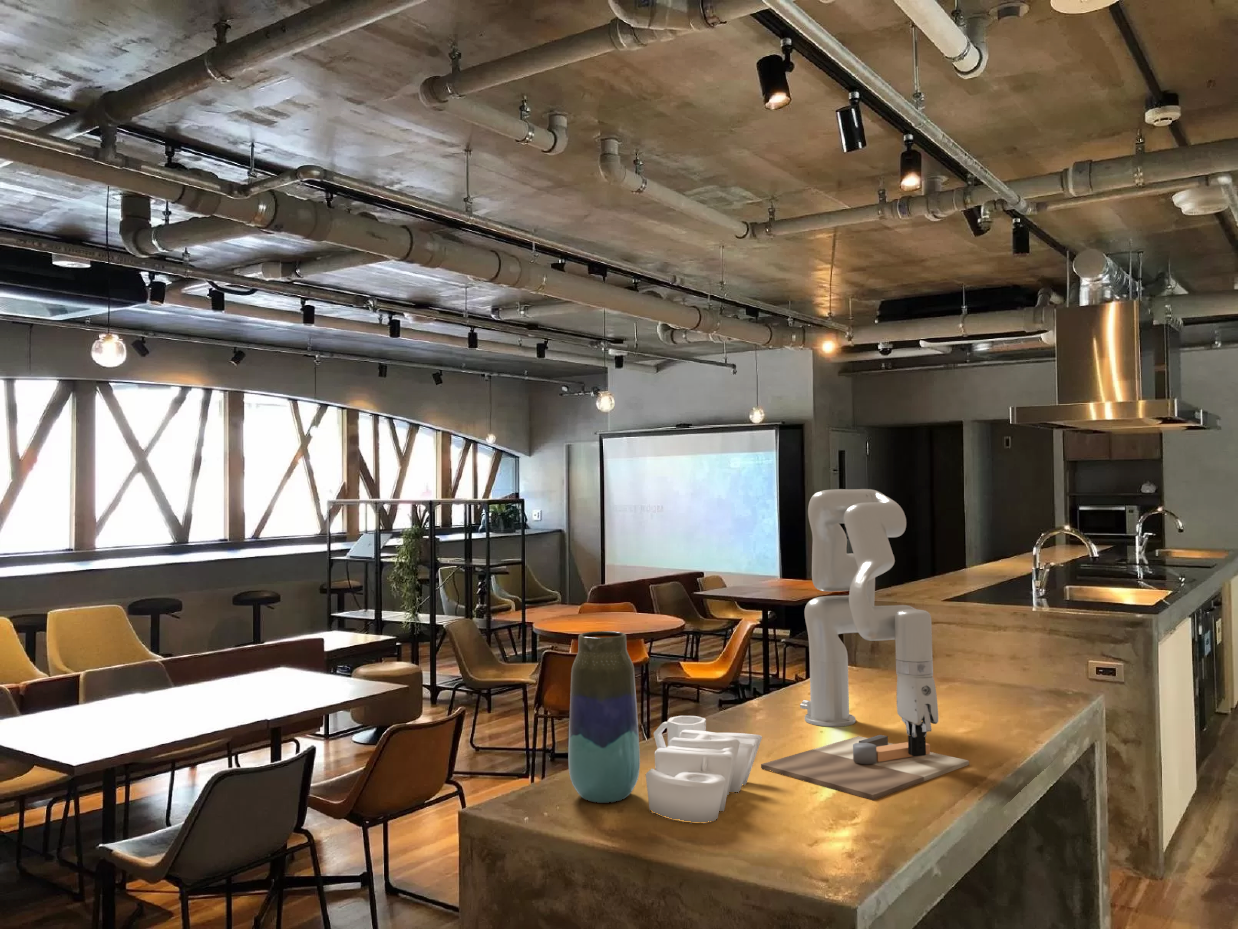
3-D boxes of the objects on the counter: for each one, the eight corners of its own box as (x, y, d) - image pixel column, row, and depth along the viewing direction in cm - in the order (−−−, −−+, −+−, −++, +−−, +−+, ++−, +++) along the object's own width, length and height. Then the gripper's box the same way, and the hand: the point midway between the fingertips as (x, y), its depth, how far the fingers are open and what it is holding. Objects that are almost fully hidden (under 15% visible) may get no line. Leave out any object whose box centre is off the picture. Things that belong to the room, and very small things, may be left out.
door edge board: (761, 769, 200) (760, 754, 200) (858, 740, 222) (858, 727, 222) (873, 800, 179) (872, 784, 179) (969, 765, 200) (968, 751, 200)
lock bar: (863, 765, 197) (862, 749, 197) (848, 759, 201) (848, 744, 202) (932, 754, 204) (931, 739, 205) (916, 749, 209) (916, 734, 209)
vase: (616, 813, 174) (613, 641, 175) (554, 801, 181) (552, 636, 182) (653, 792, 185) (650, 632, 186) (594, 782, 193) (592, 627, 194)
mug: (713, 764, 204) (712, 718, 205) (695, 774, 197) (694, 726, 197) (664, 756, 211) (663, 712, 211) (645, 766, 203) (644, 720, 204)
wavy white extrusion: (695, 769, 201) (694, 719, 201) (771, 778, 194) (770, 726, 194) (628, 822, 169) (627, 762, 169) (716, 835, 162) (714, 772, 162)
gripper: (949, 673, 196) (952, 763, 195) (913, 661, 210) (916, 745, 209) (915, 675, 194) (918, 765, 193) (882, 663, 209) (884, 747, 208)
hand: (917, 754), depth 201 cm, fingers closed
